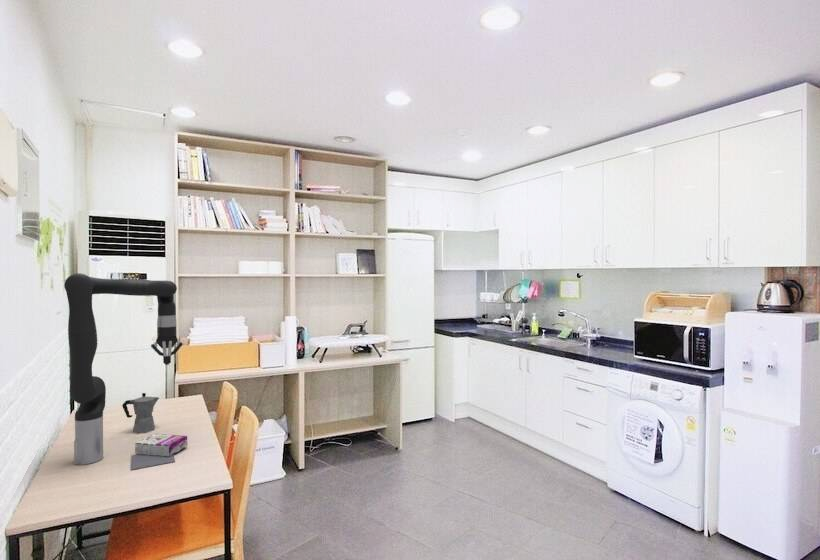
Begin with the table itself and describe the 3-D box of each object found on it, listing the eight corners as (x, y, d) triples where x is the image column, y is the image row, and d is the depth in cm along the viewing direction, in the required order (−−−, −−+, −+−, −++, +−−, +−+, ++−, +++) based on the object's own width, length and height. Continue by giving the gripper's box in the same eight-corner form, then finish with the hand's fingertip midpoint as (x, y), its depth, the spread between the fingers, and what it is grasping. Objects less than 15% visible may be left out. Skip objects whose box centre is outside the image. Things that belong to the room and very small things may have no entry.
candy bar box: (187, 447, 194) (155, 444, 197) (187, 435, 194) (154, 432, 197) (169, 457, 183) (134, 454, 186) (168, 445, 183) (134, 442, 186)
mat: (130, 470, 171) (130, 469, 171) (131, 456, 185) (131, 455, 185) (174, 462, 179) (174, 461, 179) (172, 449, 193) (172, 448, 193)
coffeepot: (157, 425, 224) (157, 389, 224) (161, 429, 217) (161, 392, 217) (121, 431, 215) (120, 394, 215) (123, 437, 207) (123, 398, 207)
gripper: (149, 327, 193) (150, 367, 193) (184, 325, 199) (184, 364, 199) (149, 325, 199) (149, 364, 199) (182, 323, 206) (183, 361, 206)
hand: (167, 364), depth 199 cm, fingers closed
